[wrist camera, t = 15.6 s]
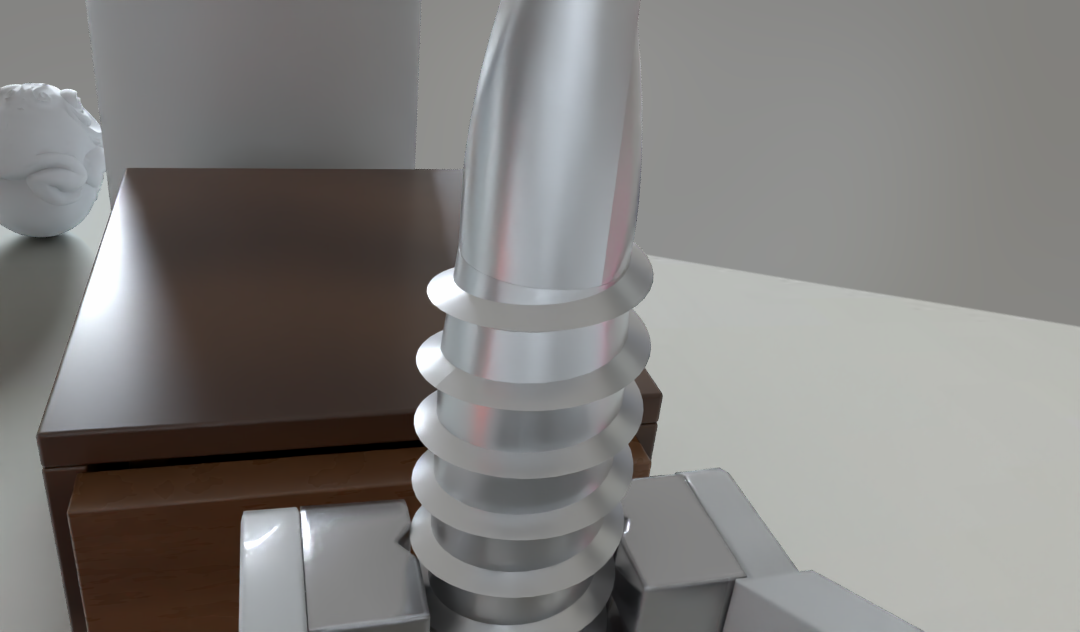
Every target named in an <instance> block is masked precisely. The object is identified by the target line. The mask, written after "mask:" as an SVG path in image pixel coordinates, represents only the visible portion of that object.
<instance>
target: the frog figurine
mask: <svg viewBox="0 0 1080 632" xmlns="http://www.w3.org/2000/svg"><path fill="white" fill-rule="evenodd" d="M80 100H81V99H80V98H79V97H77V91H74V90H71V89H65V90H59V89H58V88H56V87H54V86H51V85H47V84H43V83H40V84H34V83H24V84H23V85H18V84H16V85H7V86H4V87H1V88H0V224H1V225H2V226H4V227H6V228H7V229H9V230H11V231H13V232H15V233H18V234H21V235H25V236H31V237H50V236H55V235H59V234H62V233H65V232H67V231H69V230H71V229H73V228H74V227H76V226H77V225H78V224H79V223H81V222H82V221H83V220H84V219H85V217H86V216H87V215H88V214H89V212H90V210H91V208H92V206H93V204H94V202H95V201H96V200H97V197H98V193H99V191H100V187H101V185H102V182H103V179H104V175H103V173H104V172H106V164H105V156H104V148H103V140H102V132H101V126H100V125H99V124H98V122H97V121H96V120H95V119H94V118H93V117H92V116H91V115H90V114H89V112H88V111H87V110H85V109H84V108H83V107H82V104H81V102H80Z"/></svg>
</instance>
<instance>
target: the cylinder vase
mask: <svg viewBox="0 0 1080 632" xmlns="http://www.w3.org/2000/svg"><path fill="white" fill-rule="evenodd" d="M86 8H87V17H88V25H89V33H90V41H91V49H92V57H93V66H94V74H95V82H96V90H97V98H98V107H99V115H100V122H101V132H102V140H103V148H104V156H105V164H106V173H107V181H108V189H109V197H110V205H111V210H112V207H113V204H114V201H115V198H116V195H117V192H118V189H119V186H120V183H121V181H122V178H123V175H124V172H125V169H126V168H267V169H415V153H416V127H417V126H416V125H417V101H418V75H419V73H418V72H419V48H420V20H421V0H86Z"/></svg>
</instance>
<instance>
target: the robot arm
mask: <svg viewBox="0 0 1080 632" xmlns="http://www.w3.org/2000/svg"><path fill="white" fill-rule="evenodd" d="M621 504H622V507H623V514H624V527H623V534H622V537H621V540H620V543H619V545H618V547H617V549H616V550H615V552H614V554H613V557H614V561H615V580H614V586H613V589H612V592H611V595H610V597H609V600H608V601H607V603H606V610H607V628H606V632H924V631H923V630H921V629H919V628H917V627H915V626H913V625H912V624H910V623H908V622H906V621H904V620H903V619H901V618H899V617H897V616H895V615H893V614H892V613H890V612H888V611H886V610H884V609H883V608H881V607H879V606H877V605H875V604H873V603H872V602H870V601H868V600H866V599H864V598H863V597H861V596H859V595H857V594H855V593H853V592H852V591H850V590H848V589H846V588H844V587H843V586H841V585H839V584H837V583H835V582H833V581H832V580H830V579H828V578H826V577H824V576H822V575H821V574H819V573H817V572H815V571H813V570H808V571H798V569H797V568H796V566H795V565H794V563H793V562H792V561H791V559H790V558H789V556H788V555H787V554H786V552H785V551H784V549H783V548H782V547H781V545H780V544H779V542H778V541H777V540H776V538H775V537H774V535H773V534H772V533H771V531H770V530H769V528H768V527H767V526H766V524H765V523H764V521H763V520H762V519H761V517H760V516H759V514H758V513H757V512H756V510H755V509H754V507H753V506H752V505H751V503H750V502H749V500H748V499H747V498H746V496H745V495H744V493H743V492H742V491H741V489H740V488H739V486H738V485H737V484H736V482H735V481H734V479H733V478H732V477H731V475H730V474H729V473H728V472H726V471H725V470H723V469H721V468H712V469H704V470H695V471H686V472H678V473H675V474H674V475H660V476H650V477H640V478H632V480H631V484H630V486H629V488H628V490H627V492H626V494H625V496H624V497H623V499H622V500H621ZM410 528H411V520H410V516H409V512H408V507H407V504H406V502H405V500H404V499H396V500H382V501H367V502H353V503H338V504H324V505H309V506H300V514H299V510H298V508H297V507H290V508H277V509H264V510H251V511H243V515H242V519H241V535H240V590H239V632H430V611H429V606H428V601H427V596H426V591H425V586H424V581H423V576H422V572H421V567H420V562H419V559H418V558H417V557H415V556H414V555H413V554H411V553H410V552H411V541H410Z"/></svg>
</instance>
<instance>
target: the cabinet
mask: <svg viewBox="0 0 1080 632" xmlns="http://www.w3.org/2000/svg"><path fill="white" fill-rule="evenodd" d="M462 180H463V169H460V170H458V169H455V170H454V169H453V170H452V169H447V170H446V169H267V168H126V169H125V172H124V175H123V178H122V181H121V183H120V186H119V189H118V192H117V195H116V198H115V201H114V204H113V207H112V210H111V213H110V216H109V219H108V222H107V225H106V228H105V231H104V234H103V237H102V240H101V243H100V246H99V249H98V252H97V255H96V258H95V261H94V264H93V267H92V270H91V273H90V276H89V279H88V282H87V285H86V288H85V291H84V294H83V297H82V300H81V303H80V306H79V309H78V312H77V315H76V318H75V321H74V324H73V327H72V330H71V333H70V336H69V339H68V342H67V345H66V348H65V351H64V354H63V357H62V360H61V363H60V366H59V369H58V372H57V375H56V378H55V381H54V384H53V387H52V390H51V393H50V396H49V399H48V402H47V405H46V408H45V411H44V414H43V417H42V420H41V423H40V426H39V429H38V432H37V435H36V439H37V445H38V450H39V455H40V461H41V464H42V466H43V469H42V473H43V479H44V484H45V490H46V495H47V500H48V506H49V511H50V517H51V522H52V527H53V533H54V538H55V544H56V549H57V554H58V560H59V565H60V571H61V576H62V581H63V587H64V592H65V598H66V603H67V608H68V614H69V619H70V625H71V630H72V632H87V626H86V621H85V615H84V609H83V603H82V598H81V592H80V586H79V581H78V575H77V569H76V563H75V558H74V552H73V546H72V540H71V535H70V529H69V523H68V517H67V510H68V506H69V502H70V498H71V494H72V490H73V487H74V483H75V479H76V475H77V474H78V473H84V472H97V471H110V470H123V469H129V461H143V460H156V459H170V458H183V457H197V456H210V455H224V454H238V453H251V452H265V451H278V450H292V449H305V448H319V447H333V446H346V445H360V444H373V443H387V442H400V441H414V440H420V439H419V437H418V435H417V434H416V431H415V427H414V415H415V413H416V410H417V408H418V406H419V405H420V404H421V402H422V401H423V400H424V399H425V398H426V397H428V396H429V395H430V394H432V393H433V392H435V391H437V388H435V387H434V386H433V385H431V384H430V383H429V382H428V381H427V380H426V379H425V378H424V377H423V376H422V374H421V373H420V371H419V369H418V367H417V363H416V356H417V352H418V349H419V348H420V346H421V345H422V344H423V343H424V342H425V341H426V340H427V339H428V338H429V337H431V336H433V335H434V334H436V333H438V332H440V331H442V330H443V329H444V323H445V317H446V313H445V312H444V311H442V310H440V309H439V308H438V307H437V306H436V305H434V304H433V302H432V301H431V300H430V298H429V296H428V293H427V287H428V284H429V283H430V281H431V280H432V279H433V278H434V277H435V276H436V275H438V274H440V273H441V272H443V271H446V270H448V269H451V268H454V267H455V262H456V257H457V252H458V247H459V231H460V214H461V197H462ZM634 381H635V382H636V384H637V386H638V388H639V390H640V393H641V396H642V400H643V417H642V422H641V424H640V427H639V429H638V431H637V433H636V437H637V438H638V440H639V442H640V443H641V445H642V447H643V449H644V450H645V452H646V454H647V455H648V457H649V459H650V460H651V458H652V452H653V447H654V442H655V436H656V431H657V423H656V422H657V421H658V419H659V413H660V408H661V403H662V397H663V395H662V393H661V391H660V390H659V388H658V387H657V385H656V384H655V382H654V381H653V379H652V378H651V376H650V375H649V373H648V372H647V370H646V369H645V368H644V369H643V371H642V372H641V373H640V375H639V376H638V377H637V378H636V379H635V380H634Z"/></svg>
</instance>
